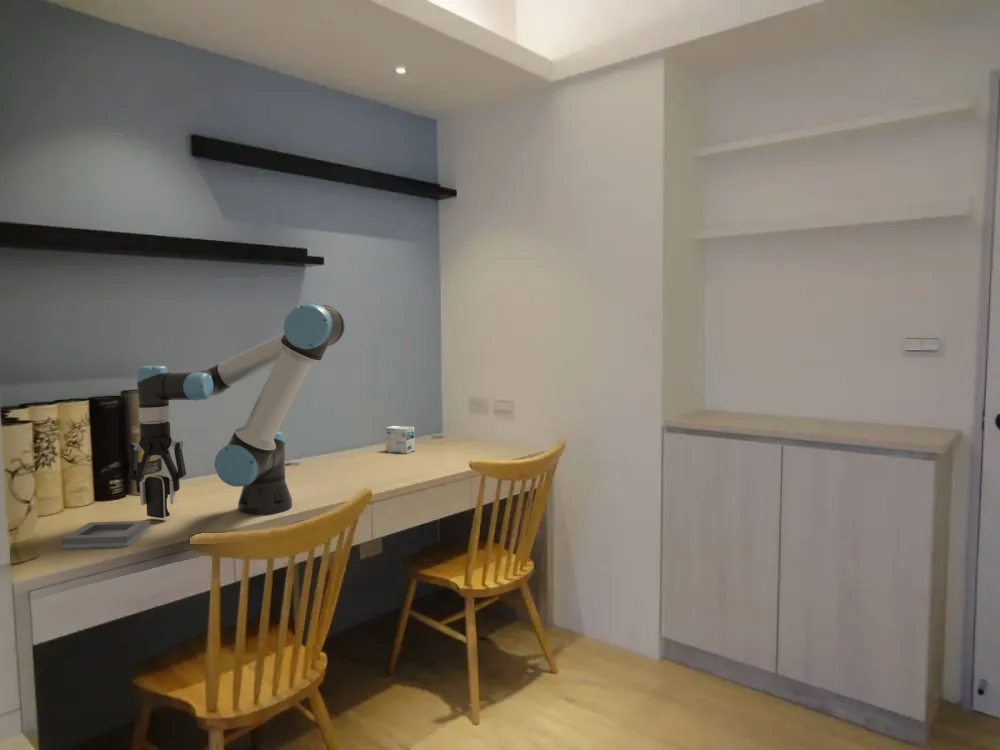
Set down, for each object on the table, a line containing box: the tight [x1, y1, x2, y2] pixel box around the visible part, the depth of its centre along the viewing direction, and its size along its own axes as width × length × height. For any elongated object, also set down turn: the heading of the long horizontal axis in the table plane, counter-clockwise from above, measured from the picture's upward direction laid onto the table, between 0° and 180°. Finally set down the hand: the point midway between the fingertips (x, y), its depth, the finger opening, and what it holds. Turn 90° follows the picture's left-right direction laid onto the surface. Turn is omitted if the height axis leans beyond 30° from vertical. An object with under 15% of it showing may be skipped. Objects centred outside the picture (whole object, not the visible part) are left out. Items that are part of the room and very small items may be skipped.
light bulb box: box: [385, 425, 416, 454], centre depth 297 cm, size 11×7×11 cm, turn 66°
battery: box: [144, 474, 171, 519], centre depth 193 cm, size 7×4×11 cm, turn 63°
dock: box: [61, 520, 151, 550], centre depth 176 cm, size 15×14×2 cm
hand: (159, 503), depth 193 cm, fingers closed on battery, 7 cm apart
